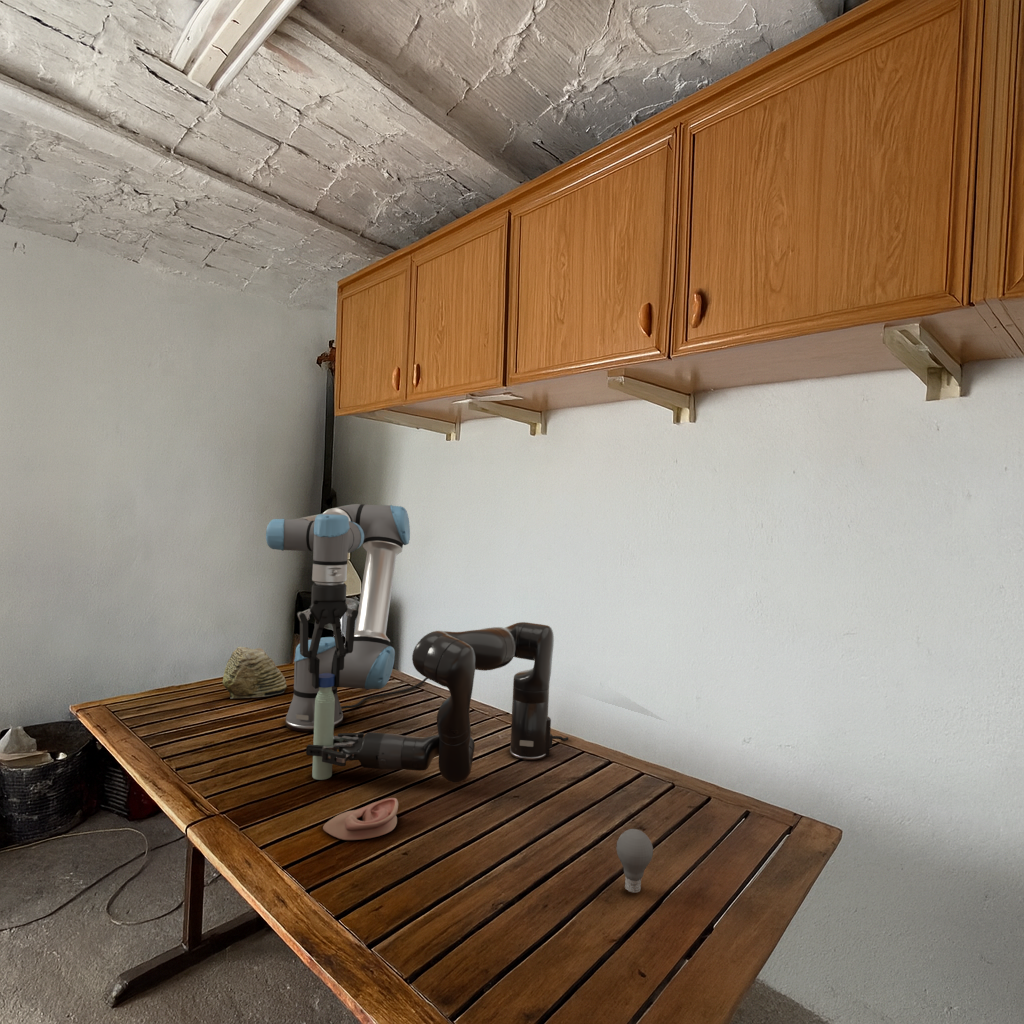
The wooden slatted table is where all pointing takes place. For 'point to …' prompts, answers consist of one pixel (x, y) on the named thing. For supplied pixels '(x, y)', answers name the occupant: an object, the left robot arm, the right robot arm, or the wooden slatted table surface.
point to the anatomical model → (364, 821)
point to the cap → (326, 680)
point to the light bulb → (634, 857)
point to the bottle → (323, 730)
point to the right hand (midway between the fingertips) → (311, 745)
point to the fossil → (252, 674)
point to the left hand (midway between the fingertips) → (325, 685)
